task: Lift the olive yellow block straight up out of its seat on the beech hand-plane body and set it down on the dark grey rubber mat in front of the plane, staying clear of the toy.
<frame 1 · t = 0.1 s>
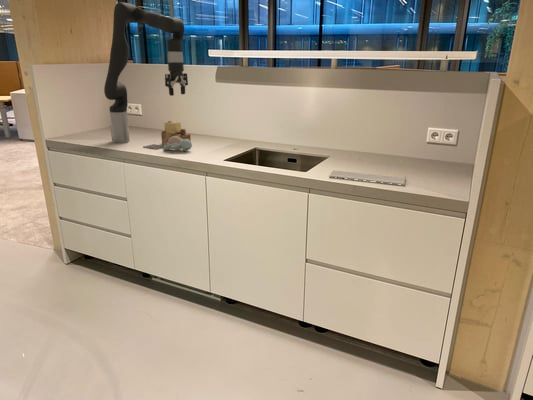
hand: (177, 94, 208), 29 cm above the countertop, tool pointing down, fingers open, 8 cm apart
plane body: (176, 144, 235), on the countertop
olive yellow block: (173, 133, 233), point 6 cm above the countertop, touching plane body
toy: (178, 151, 219), on the countertop
mat: (154, 147, 226), on the countertop
flat grey slab: (367, 179, 175), on the countertop
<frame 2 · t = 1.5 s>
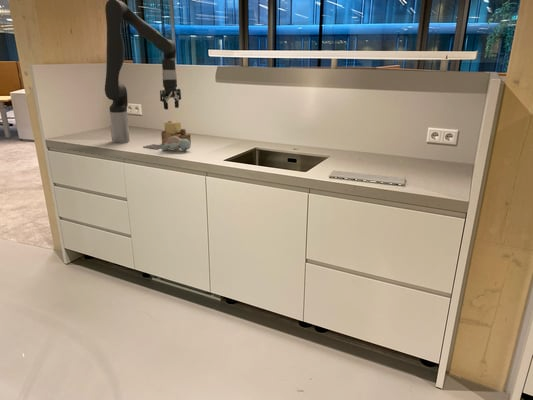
hand: (171, 108, 229), 20 cm above the countertop, tool pointing down, fingers open, 8 cm apart
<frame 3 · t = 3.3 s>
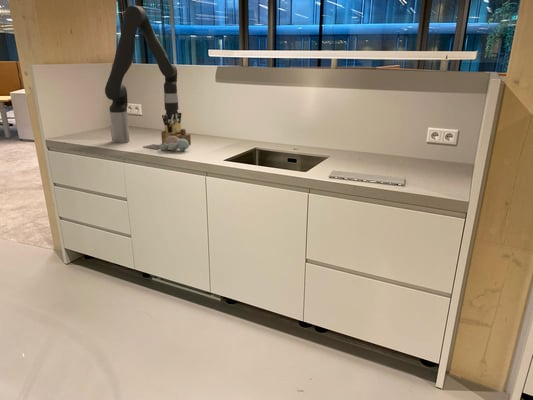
hand: (173, 131, 233), 7 cm above the countertop, tool pointing down, fingers closed on olive yellow block, 4 cm apart
olive yellow block: (173, 133, 233), point 6 cm above the countertop, touching gripper, plane body
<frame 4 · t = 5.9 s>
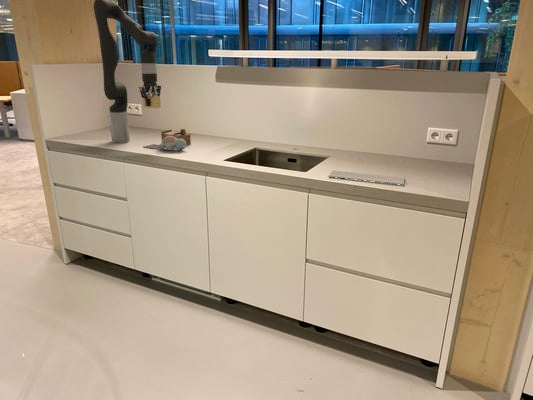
hand: (151, 105, 218), 23 cm above the countertop, tool pointing down, fingers closed on olive yellow block, 4 cm apart
olive yellow block: (151, 107, 219), point 22 cm above the countertop, touching gripper
toy: (172, 150, 220), on the countertop
everything else where it was.
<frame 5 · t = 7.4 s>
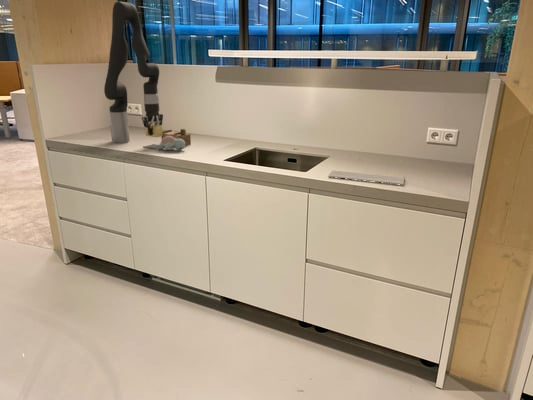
hand: (154, 134, 223), 7 cm above the countertop, tool pointing down, fingers closed on olive yellow block, 4 cm apart
olive yellow block: (154, 135, 224), point 6 cm above the countertop, touching gripper
when the fingers open (3 cm above the countertop, at t = 8.5 s): olive yellow block drops 2 cm, resting on mat.
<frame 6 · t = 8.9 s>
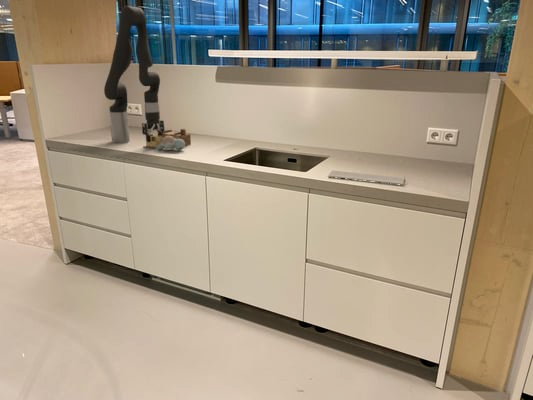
hand: (154, 140, 225), 4 cm above the countertop, tool pointing down, fingers open, 8 cm apart
olive yellow block: (154, 146, 226), resting on mat
toy: (171, 150, 219), on the countertop, touching mat
everything else where it was.
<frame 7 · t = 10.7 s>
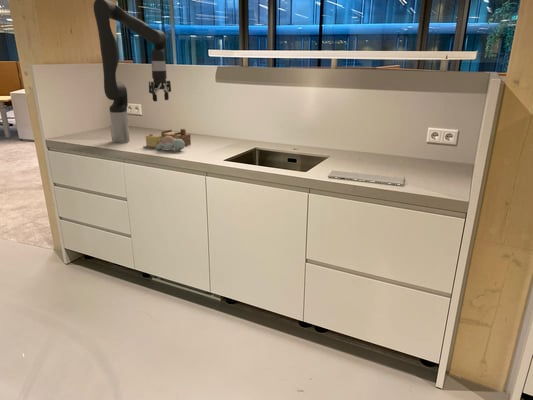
hand: (160, 100, 225), 24 cm above the countertop, tool pointing down, fingers open, 8 cm apart
toy: (171, 151, 219), on the countertop
everything else where it was.
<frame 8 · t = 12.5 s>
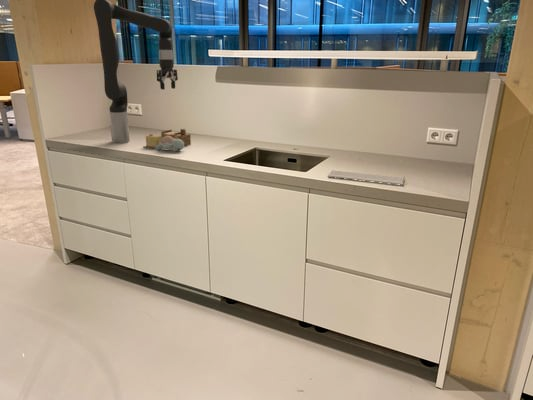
hand: (168, 89, 231), 30 cm above the countertop, tool pointing down, fingers open, 8 cm apart
at the end: olive yellow block inside the target area on the mat (0.1 cm from its centre), point 0.4 cm above the mat's base; the gripper is holding nothing; olive yellow block touching mat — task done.
